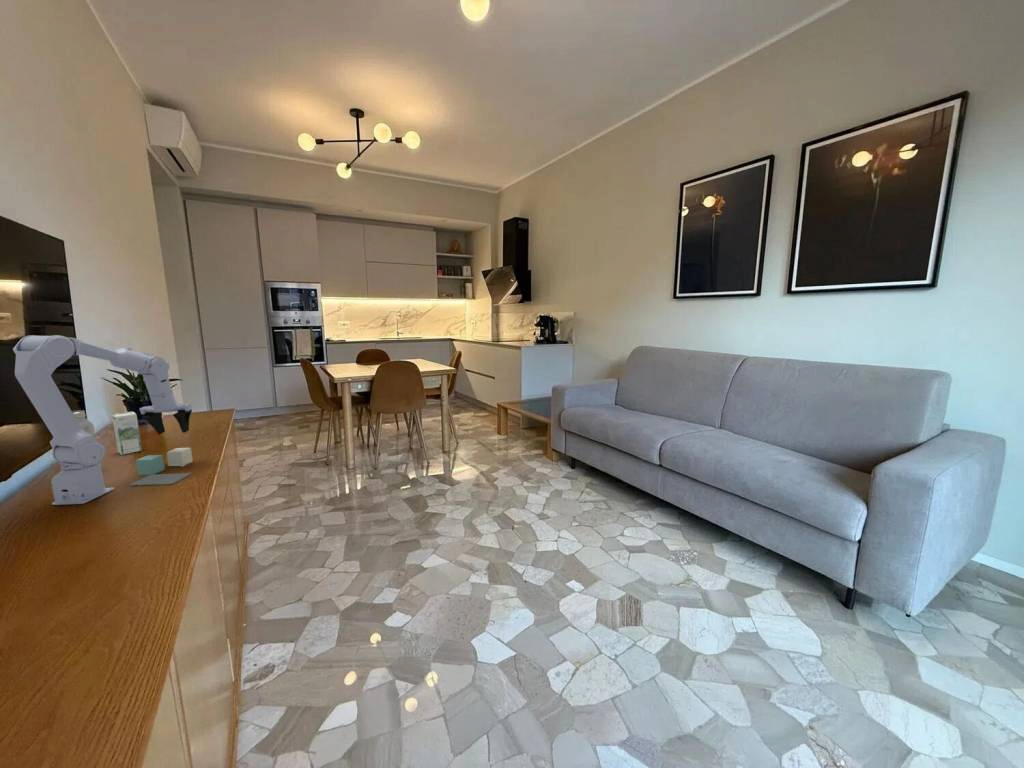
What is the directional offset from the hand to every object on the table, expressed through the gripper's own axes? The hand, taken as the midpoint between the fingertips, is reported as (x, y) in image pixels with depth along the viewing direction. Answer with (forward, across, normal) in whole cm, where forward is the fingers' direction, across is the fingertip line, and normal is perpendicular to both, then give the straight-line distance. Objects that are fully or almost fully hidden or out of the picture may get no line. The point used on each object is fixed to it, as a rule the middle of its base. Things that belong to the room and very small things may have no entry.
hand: (173, 432), depth 136 cm
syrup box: (+12, +28, -13) cm, 33 cm away
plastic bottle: (+9, +24, +8) cm, 26 cm away
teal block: (+10, +4, +9) cm, 14 cm away
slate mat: (+9, -4, +16) cm, 18 cm away
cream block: (+11, 0, +2) cm, 11 cm away
